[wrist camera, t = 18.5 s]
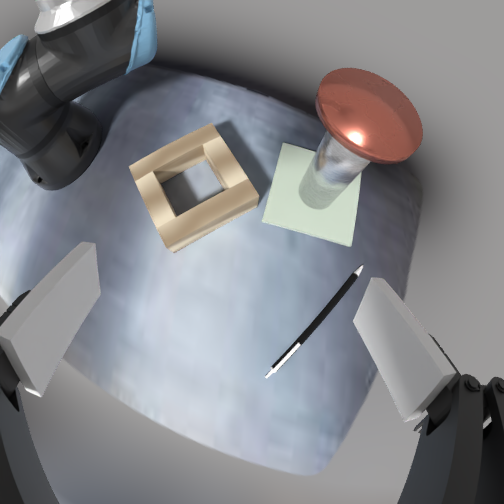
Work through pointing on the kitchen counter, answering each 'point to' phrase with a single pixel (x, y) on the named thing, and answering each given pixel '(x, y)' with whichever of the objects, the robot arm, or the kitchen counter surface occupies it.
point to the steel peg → (357, 132)
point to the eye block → (208, 212)
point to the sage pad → (297, 212)
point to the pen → (315, 322)
